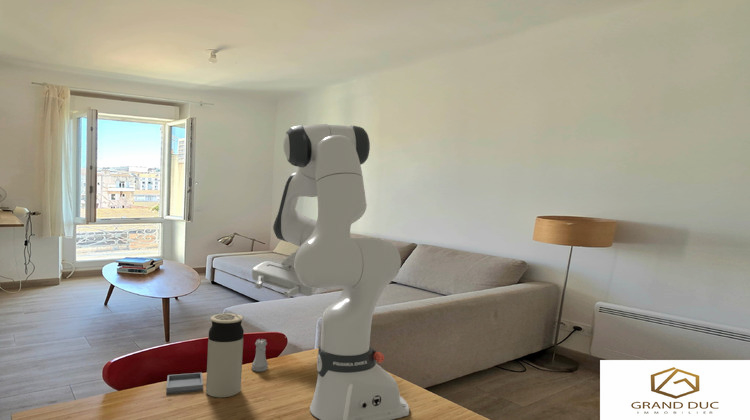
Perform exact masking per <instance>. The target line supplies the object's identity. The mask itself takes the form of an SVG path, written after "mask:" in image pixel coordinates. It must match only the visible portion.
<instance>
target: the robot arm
mask: <svg viewBox="0 0 750 420" xmlns="http://www.w3.org/2000/svg"><path fill="white" fill-rule="evenodd" d="M285 132H286V133H285V137H284V140H283V152H284V155H285V157H286V160H287V162H288V163H289V164H290V165H291V166H294V167H296V168H298V169H297V171H296V172H293V173H291V174H290V176H289V177H288V179H287V180H286V183H285V186H284V188H283V193H282V196H281V201H280V204H279V208H278V212H277V215H276V217H275V221H274V222H273V225H272V228H273V232H274V235H275V236H276V237H275V238H277V239H278V240H280V241H284V242H287V243H290V244H293V245H294V246H297V247H298V248H297V249H296V250H295V251H294V252H293V253H290V255H288V256H287V257H286V258H285V259H284V260H283V261H282V262H281V263H277V262H274V261H271V260H266V261H263V262H261V263H259V264H257V265H255V266H254V267H252V270H251V271H252V272H251V277H252V280H253V281H256V282H255V286H254V287H255V289H257V290H258V289H259V290H261V289H262V288H263V287H264V284H266V285H268V286H269V285H270V286H273V287H277V288H280V289H283V290H284V291H283V297H285V298H287V299H290V298H291V297H293V296H295V295H299V294H300V295H303V296H306V297H309V296H313V295H314V294H315V292H316V291H317V290H318V289H323V290H328V289H330V290H331V289H342V291H341V293H340V295H339V297H338V298H337V299H336V300H335V301H334V302H332V303H331V304H329V306H327V307H326V308H325V310H324V311H323V313H322V317H321V331H320V345H319V346H318V352H317V358H316V359H317V361H316V372H317V379H316V385H315V390H314V393H313V398H312V400H311V402H310V406H309V412H310V413H311V415H312V416H313V417H314V418H316V419H319V420H395V419H401V418H403V417H407V416H409V415H410V406H409V404H408V402H407V401H406V399H405V398H403V396H402V395H400V389H399V386H398V383H397V381H396V379H395V378H394V377H393V376H392V375H391V374H389V372H387V371H386V369H384V368H383V367H381V366H380V365H379V364H381V363H383V362H384V361H385V355H384V354H383V353H382V352H381V351H377V350H376V349H375V348H373V347H371V346H370V344H371V343H370V342H371V331H372V330H371V329H372V321H373V315H374V312H375V309H376V306H377V303H378V301H379V299H380V297H381V295H382V294H383V292H384V291H385V289H386V288H387V286H388V285H389V284H390V283H392V281H394V280H395V279H396V277H397V276H398V274H399V272H400V270H401V265H402V260H401V254H400V252H399V249H398V247H397V246H396V245H395V243H393V242H391V241H387V240H384V239H379V238H374V237H358V238H357V237H355V238H354V237H352V236H351V228H352V227H351V226H352V225H353V224H354V223H355V222H357V221H358V220H360V219H361V218H362V217H363V216H364V214H365V212H366V211H367V200H366V192H365V191H366V190H365V184H364V178H363V177H364V175H363V171H362V165H363V164H365V162H366V161H367V160H368V159H369V155H370V149H371V144H370V138H369V134H368V132H367V130H365V128H363V127H361V126H359V125H358V126H357V125H340V124H327V123H319V124H317V123H316V124H310V125H307V124H306V125H303V124H299V125H295V126H291V127H289V129H288V130H287V131H285ZM299 197H300V198H301V197H307V198H316V199H317V219H316V220H315V219H314V218H311V217H308V216H306V215H302V214H301V213H300V212H298V211H297V209H296V207H297V205H298V200H299ZM378 363H379V364H378Z"/></svg>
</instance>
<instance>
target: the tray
mask: <svg viewBox="0 0 750 420" xmlns="http://www.w3.org/2000/svg"><path fill="white" fill-rule="evenodd" d="M166 380H167V381H166V395H171V394H172V395H174V394H183V393H184V394H185V393H193V392H194V393H195V392H203V391H204V382H203V372H193V373H191V372H190V373H189V372H188V373H180V374H178V373H177V374H168V375H167V379H166Z"/></svg>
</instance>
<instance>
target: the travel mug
mask: <svg viewBox="0 0 750 420" xmlns="http://www.w3.org/2000/svg"><path fill="white" fill-rule="evenodd" d="M209 319H210V321H211V326H210V328H209V330H208V341H207V357H206V358H207V360H206V361H207V362H206V364H207V365H206V381H205V386H206V387H205V393H206V394H207V395H208V396H210V397H213V398H220V399H221V398H222V399H223V398H224V399H225V398H229V397H233V396H234V395H237V394H239V393H240V392H241V390H242V371H243V370H242V369H243V352H244V351H243V349H244V333H245V331H244V327H243V326H242V322H243V320H244V317H243V315H241V314H238V313H230V312H229V313H218V314H214V315H212V316H211V317H210V318H209Z"/></svg>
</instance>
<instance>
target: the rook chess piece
mask: <svg viewBox="0 0 750 420" xmlns="http://www.w3.org/2000/svg"><path fill="white" fill-rule="evenodd" d="M254 345H255V347H256V348H255V357H254V360H253V362H252V363H251V370H252V372H257V373H261V372H262V373H263V372H266V371H267V370H268V369H269V366H268V365H269V363H268V361H267V358H266V357H267V356H266V350H267V348H266V346H267V345H268V342H267V339H264V338H258V339H256V341H255V343H254Z"/></svg>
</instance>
